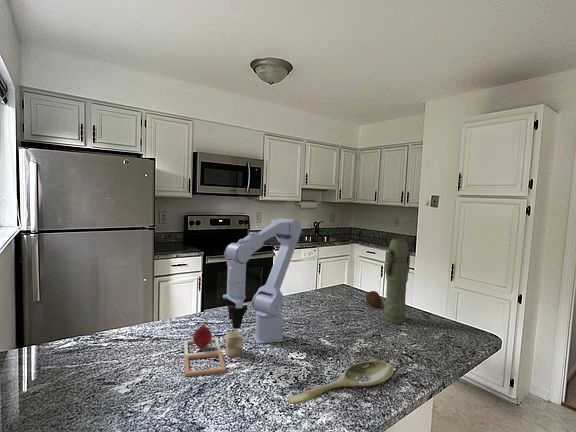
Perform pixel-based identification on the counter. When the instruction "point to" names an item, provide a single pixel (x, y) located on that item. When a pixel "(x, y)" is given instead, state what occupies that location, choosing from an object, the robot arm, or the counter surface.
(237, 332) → the birch block
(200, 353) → the cream frame
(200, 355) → the terracotta frame
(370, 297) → the potato
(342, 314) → the counter surface
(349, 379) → the spoon
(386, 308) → the thermos
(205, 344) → the onion
